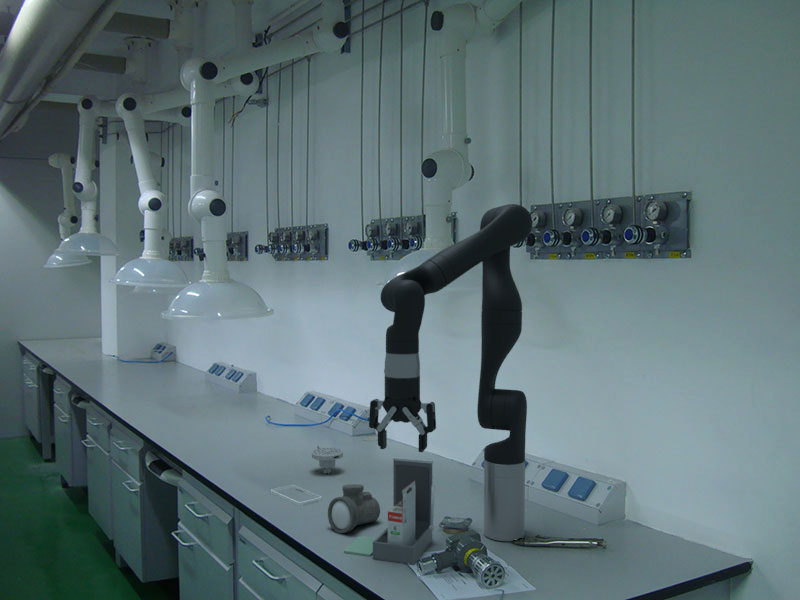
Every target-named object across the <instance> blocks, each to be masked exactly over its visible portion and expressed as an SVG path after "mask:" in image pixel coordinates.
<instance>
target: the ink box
mask: <svg viewBox="0 0 800 600" xmlns="http://www.w3.org/2000/svg"><path fill="white" fill-rule="evenodd" d="M409 488H411V490H410V491H409V492H408V493H407V490H408V489H409ZM415 494H416V487H415V480H414V481H413V482H412V483H411V484H409V485H408V486H407V487H405V488H404V489H403V490H402V500H401V501H400V502H399V503H398V504H396V505H395V506H394V505H393V506H392V507H391V508H389V510H387V527H388V541H387V543H390V544H397V545H405V546H413V545H414V544H415V543H416V540H415Z"/></svg>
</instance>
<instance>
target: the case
mask: <svg viewBox="0 0 800 600" xmlns="http://www.w3.org/2000/svg"><path fill="white" fill-rule="evenodd" d="M392 460H393V507H394V506H395V505H396V504H398V503H399V502H400V501H401V500H402V490H403V489H404V488H405V487H407V486H408V485H409V484H411V483H412V482H413V481H414V480H415V487H416V494H415V544H414V545H413V546H405V545H397V544H390V543H387V541H388V526H387V527H386V528H385V530H383V532H381V533H380V534H379V535H378V537H375V538H376V539H375V540H374V541H373V554H372V559H373V560H379V561H386V562H392V563H399V564H407V565H413V564H414V563H415V562H417V561H418V560H419V559H418V558H420V557H421V556H422V555H423V554H424V553H425V551H426V550H427V548H428V547H429V546H430V545H431V543H432V542H433V531H434V529H435V525H434V518H435V517H434V514H435V513H434V511H435V510H434V509H435V488H436V485H435V484H434V483H433V464H434V461H433V460H431V459H430V460H427V459H418V458H407V457H396V456H394V457H392ZM410 490H411V488H409V489H408V490H407V493H408V492H409V491H410ZM417 559H418V560H417ZM416 560H417V561H416ZM408 563H409V564H408ZM415 564H416V563H415ZM415 564H414V565H415Z"/></svg>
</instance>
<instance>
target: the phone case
mask: <svg viewBox="0 0 800 600" xmlns="http://www.w3.org/2000/svg"><path fill="white" fill-rule="evenodd" d="M288 489H294V490H296V489H298V490H300V491H302V492H303V493H304V494H306V495H308V496H310V497H313V498H312V499H307V500H304V501H298V500H295V499H293V498H290V497H289V496H287V495H285V494H282V493H279V492H280V491H284V490H288ZM270 494H272V495H274V496H276V497H278V498H281V499H283V500H285V501H287V502H290V503H291V504H294V505H296V506H297V507H298V506H299V507H303V506H304V505H305V503H309V502H313V501H317V500H318V502H322V501H323V497H322V495H320V494H316V493H314V492H311V491H309V490H307V489H305V488H302V487H300V486H297V485H295V484H288V485H284V486H281V487H276V488H271V489H270Z"/></svg>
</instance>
